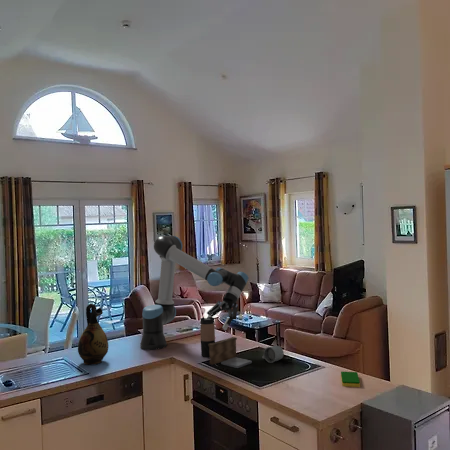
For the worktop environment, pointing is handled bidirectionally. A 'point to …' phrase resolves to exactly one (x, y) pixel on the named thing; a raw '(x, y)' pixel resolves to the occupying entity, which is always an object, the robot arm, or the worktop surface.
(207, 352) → the travel mug
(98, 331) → the ceramic jug
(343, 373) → the dish sponge
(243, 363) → the slate tile
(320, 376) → the worktop surface
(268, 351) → the ceramic mug
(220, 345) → the walnut screen
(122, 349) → the worktop surface
